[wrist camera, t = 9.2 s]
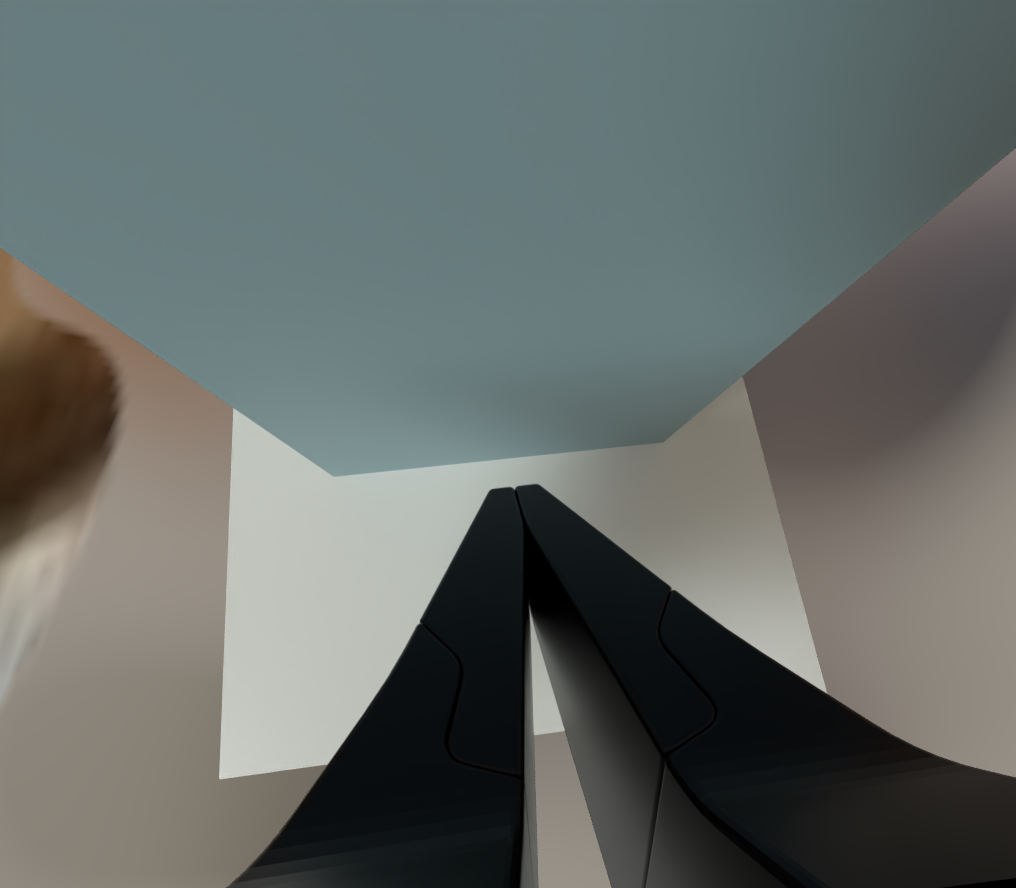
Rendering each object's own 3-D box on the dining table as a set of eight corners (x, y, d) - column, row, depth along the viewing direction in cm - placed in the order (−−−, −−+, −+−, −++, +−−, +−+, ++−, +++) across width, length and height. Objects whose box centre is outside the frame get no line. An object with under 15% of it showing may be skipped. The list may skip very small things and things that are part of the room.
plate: (808, 688, 14) (827, 694, 13) (235, 768, 13) (219, 779, 12) (686, 213, 19) (695, 197, 18) (251, 246, 18) (240, 230, 17)
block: (663, 442, 15) (1461, -223, 3) (333, 476, 15) (-625, -183, 2) (612, 202, 18) (906, -732, 5) (328, 222, 17) (-126, -786, 4)
